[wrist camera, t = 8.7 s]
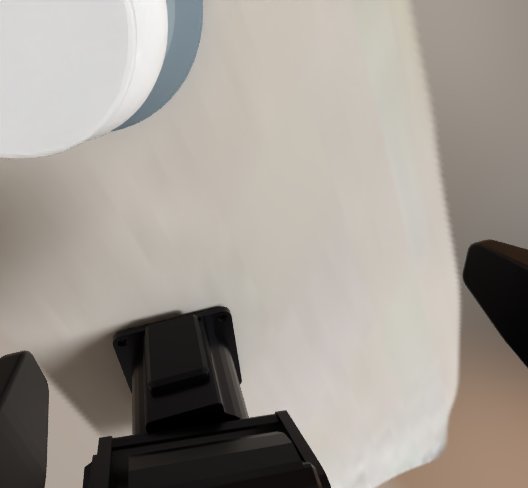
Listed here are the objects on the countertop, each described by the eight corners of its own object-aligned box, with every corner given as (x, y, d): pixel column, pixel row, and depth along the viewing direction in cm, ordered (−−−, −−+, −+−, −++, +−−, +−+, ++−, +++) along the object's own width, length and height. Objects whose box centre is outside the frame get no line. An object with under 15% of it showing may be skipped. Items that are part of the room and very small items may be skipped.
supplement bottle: (-60, 11, 13) (-373, 46, 5) (24, -157, 12) (-211, -497, 4) (100, 117, 16) (73, 250, 8) (184, -8, 14) (256, -7, 6)
